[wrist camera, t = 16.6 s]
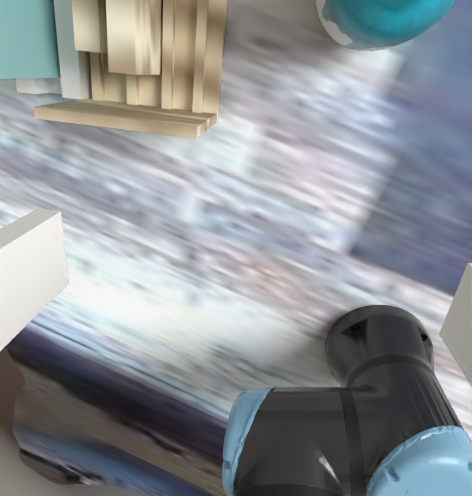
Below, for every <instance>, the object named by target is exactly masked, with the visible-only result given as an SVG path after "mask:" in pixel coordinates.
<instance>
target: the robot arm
mask: <svg viewBox="0 0 472 496" xmlns="http://www.w3.org/2000/svg"><path fill="white" fill-rule="evenodd" d="M68 284H69V278H68V270H67V261H66V252H65V244H64V235H63V226H62V217H61V211H53V210H45V209H37V210H35V211H33V212H32V213H30V214H28V215H26V216H24V217H22V218H21V219H19V220H17V221H15V222H13V223H11V224H10V225H8V226H6V227H4V228H2V229H1V230H0V351H1V350H2V349H3V348H4V347H5V346H6V345H7V344H8V343H9V342H10V341H11V340H12V339H13V338H14V337H15V336H16V335H17V334H18V333H19V332H20V331H21V330H22V329H23V328H24V327H25V326H26V325H27V324H28V323H29V322H30V321H31V320H32V319H33V318H34V317H35V316H36V315H37V314H38V313H39V312H40V311H41V310H42V309H43V308H44V307H45V306H47V305H48V304H49V303H50V302H51V301H52V300H53V299H54V298H55V297H56V296H57V295H58V294H59V293H60V292H61V291H62V290H63V289H64V288H65V287H66V286H67V285H68ZM439 335H440V336H441V338H442V339H443V341H444V343H445V344H446V346H447V347H448V349H449V351H450V352H451V354H452V355H453V357H454V359H455V360H456V362H457V363H458V365H459V367H460V368H461V370H462V371H463V373H464V375H465V376H466V378H467V379H468V381H469V383H470V384H471V386H472V263H468V264H467V267H466V269H465V272H464V274H463V277H462V279H461V282H460V284H459V286H458V289H457V291H456V294H455V296H454V299H453V301H452V304H451V306H450V309H449V311H448V314H447V316H446V319H445V321H444V323H443V326H442V328H441V331H440V333H439ZM325 351H326V357H327V362H328V365H329V368H330V370H331V372H332V374H333V375H334V376H335V378H336V379H337V381H338V382H339V384H340V385H341V387H339V388H338V387H276V386H271V387H269V388H262V389H249V390H246V391H244V392H242V393H241V394H240V395H239V396H238V398H237V399H236V400H235V402H234V404H233V407H232V409H231V413H230V416H229V420H228V424H227V429H226V434H225V441H224V448H223V458H224V461H223V467H222V483H223V488H224V491H225V493H226V494H227V495H228V496H472V444H471V439H470V437H469V435H468V433H467V432H466V431H465V430H464V429H463V427H462V425H461V423H460V421H459V419H458V417H457V415H456V414H455V412H454V410H453V408H452V406H451V404H450V402H449V400H448V399H447V397H446V395H445V393H444V391H443V389H442V387H441V385H440V384H439V382H438V380H437V378H436V376H435V374H434V357H433V346H432V342H431V339H430V337H429V335H428V333H427V331H426V329H425V328H424V326H423V324H422V323H421V322H420V321H419V320H418V319H417V318H416V317H415V316H414V315H412V314H411V313H409V312H407V311H405V310H403V309H400V308H397V307H392V306H383V305H377V306H368V307H364V308H360V309H357V310H355V311H352V312H350V313H348V314H347V315H345V316H344V317H342V318H341V319H340V320H339V321H337V322H336V323H335V325H334V326H333V327H332V328H331V330H330V332H329V334H328V336H327V339H326V344H325Z"/></svg>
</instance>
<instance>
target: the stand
mask: <svg viewBox="0 0 472 496" xmlns="http://www.w3.org/2000/svg"><path fill="white" fill-rule="evenodd" d="M54 10H55V21H56V32H57V43H58V53H59V64H60V75H61V78H15V82H16V89H17V92H21V93H30V94H44V93H54V94H62V97H63V98H71V99H79V100H84V99H91V98H92V83H91V66H90V51H81V50H75V41H74V27H73V14H72V0H54Z"/></svg>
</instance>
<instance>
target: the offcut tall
mask: <svg viewBox="0 0 472 496" xmlns="http://www.w3.org/2000/svg"><path fill="white" fill-rule="evenodd" d="M106 16H107V41H108V65H109V72H115V73H123V74H132V75H162V45H163V0H106Z"/></svg>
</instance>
